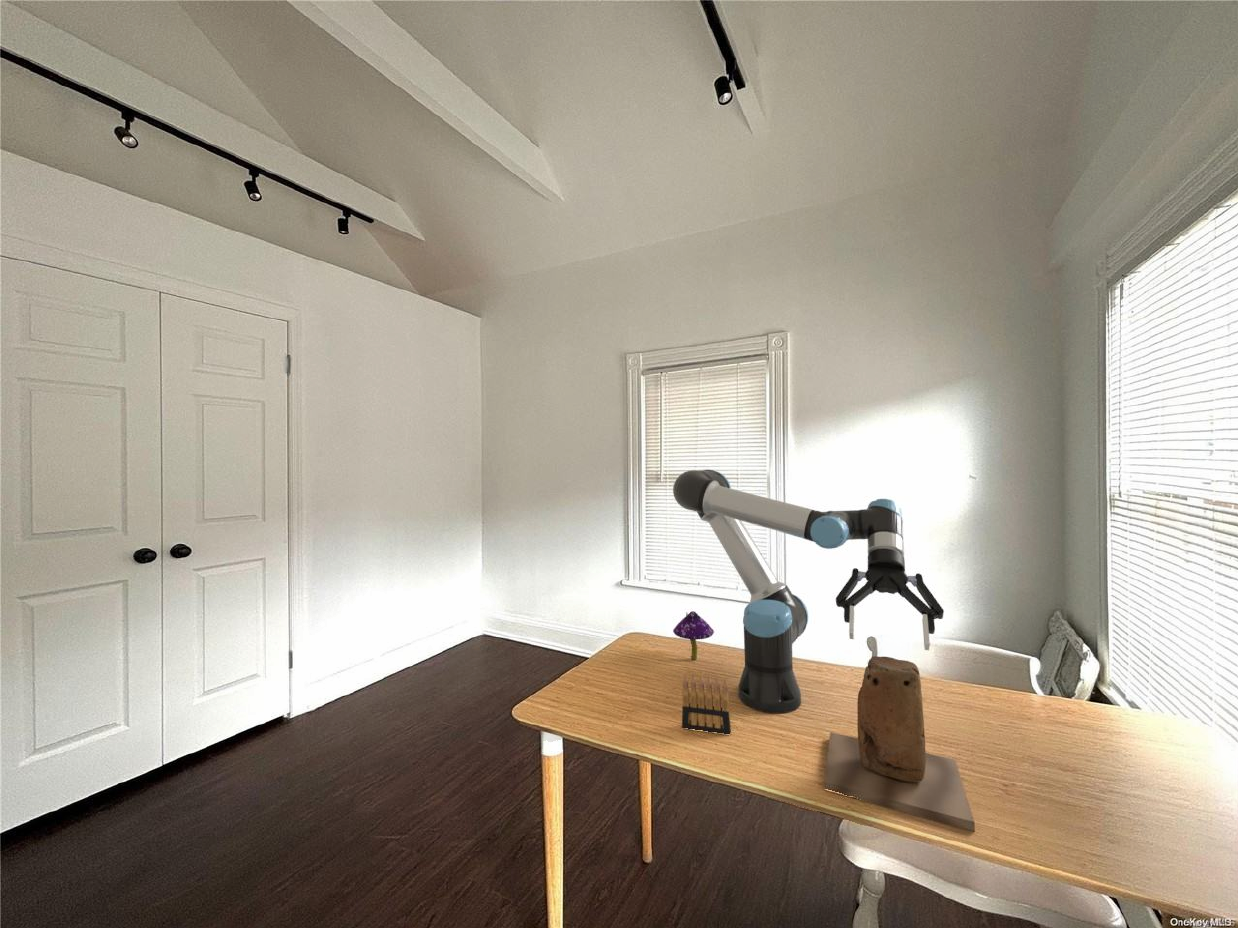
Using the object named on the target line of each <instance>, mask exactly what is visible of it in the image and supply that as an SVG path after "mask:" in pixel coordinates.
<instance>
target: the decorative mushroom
mask: <svg viewBox="0 0 1238 928" xmlns="http://www.w3.org/2000/svg"><path fill="white" fill-rule="evenodd" d="M672 631H673V634H674V635H675V636H676V637H679V638H681V639H685V640H689V641H690V644H691V656H690V659H691V661H697V659H698V645H697V641H696V640H705V639H708V638H710V637H712V636H713V635H714V633H715V631H714V629H713V628H712V627H711V626H710V624H709V623H707V621H706V620H705V619H704V618H702V617H701V616H700V615H699V614H698V613H697V612H696V611H693V610H692V611H690V612H689V613H688V614H687V615H686V616H684V617H683V618H682V619H681V620H680V621H679V622H678V623H677V624H676V626H675V627H674V628H673V630H672Z"/></svg>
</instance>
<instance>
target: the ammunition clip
mask: <svg viewBox="0 0 1238 928" xmlns="http://www.w3.org/2000/svg"><path fill="white" fill-rule="evenodd" d="M704 686H705V685H704V679H703V676H702V675H700V676H699V679H698V689H697V682H696V677H695V675H694V674H692V675H691V678H690V689H689V679H688V675H687V674H686V673H685V674H684V676H683V680H682V693H681V695H682V700H681V701H682V711H681V712H682V713H681V715H682V716H681V728H688V729H695V730H703V731H708V732H717V733H724V734H730V733H732V732H731V731H732V728H731V727H732V726H731V715H730V696H729V688H728V686H729V685H728V681H727V679H726V678H724V679H723V682H722V692H721V687H720V681H719V678H718V677H716V678H715V680H714V687H712V681H711V677H710V676H707V679H706V687H704ZM705 688H706V689H705ZM712 688H713V689H714V691H713V689H712ZM697 690H698V692H697ZM705 691H706V692H705ZM713 693H714V694H713ZM721 693H722V694H721Z"/></svg>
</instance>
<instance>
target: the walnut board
mask: <svg viewBox="0 0 1238 928" xmlns="http://www.w3.org/2000/svg"><path fill="white" fill-rule="evenodd" d="M825 762H826V763H825V770H824V778H823V790H824V789H828V790H832V791H835V792H839V793H842V794H844V795H847V796H853V797H855V798H858V799H861V800H863V801H862V802H865V801H866V802H865V803H869V802H870V804H872V803H873V805H876V806H880V807H883V806H884V808H887V807H888V808H887V809H891V808H892V810H894V809H896V810H895V811H899V812H902V813H905V812H906V813H905V814H909V815H913V816H917V817H919V818H923V819H928V820H931V821H935V822H939V823H943V824H945V825H950V826H953V827H956V826H957V828H960V829H963V830H966V831H967V830H968V831H971V832H975V829H976V828H975V820H974V816H973V812H972V809H971V807H970V804H969V800H968V796H967V793H966V790H965V788H964V783H963V781H962V777H961V773H960V770H959V768H958V765H957V762H956V759H954V758H949V757H945V756H941V755H936V754H932V753H926V767H925V774H924V779H923V780H922V781H920V782H907V781H902V780H898V779H895V778H891V777H888V776H885V775H882V774H880V773H878V772H876V771H874V770H873V771H872V770H870V769H868V768H866V767H864V766H863V764H862V762H861V759H860V754H859V745H858V737H856V736H855V737H854V736H849V735H844V734H840V733H836V732H830V733H829V739H828V746H827V755H826V761H825ZM847 796H846V797H847ZM858 799H857V800H858ZM861 800H860V801H861Z"/></svg>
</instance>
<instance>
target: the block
mask: <svg viewBox="0 0 1238 928" xmlns="http://www.w3.org/2000/svg"><path fill="white" fill-rule="evenodd" d="M859 688H860V689H859V691H858V693H857V705H856V706H857V709H856V710H857V723H856V724H857V738H858V745H859V754H860V759H861V762H862V764H863V766H864V767H866V768H868V769H870V770H872V771H873V770H874V771H876V772H878V773H880V774H882V775H885V776H888V777H891V778H895V779H898V780H902V781H907V782H920V781H922V780H923V779H924V774H925V767H926V752H927V751H926V735H925V719H924V707H923V706H924V705H923V695H922V684H921V674H920V669H919V668H918V666H917V664H916V663H914V662H911V661H909V660H904V659H897V658H893V657H891V656H877V655H876V656H875V655H874V656H872V657H871V658H869V660H868V662H867V666H866V667H865V669H864V674H863V678H862V682H861V687H859Z"/></svg>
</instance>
